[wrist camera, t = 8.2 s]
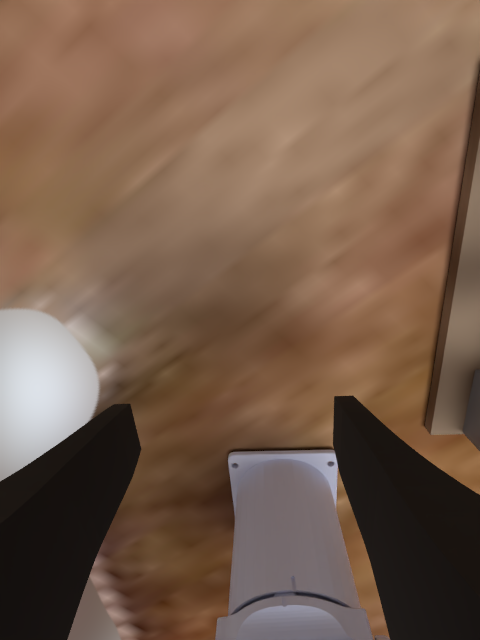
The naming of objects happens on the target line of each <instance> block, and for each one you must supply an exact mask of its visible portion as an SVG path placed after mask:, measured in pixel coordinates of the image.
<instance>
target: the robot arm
mask: <svg viewBox="0 0 480 640" xmlns="http://www.w3.org/2000/svg"><path fill="white" fill-rule="evenodd" d="M333 446H334V450H291V451H247V452H231V453H230V454H229V455H228V465H229V473H230V481H231V489H232V497H233V505H234V513H235V528H234V542H233V555H232V568H231V582H230V595H229V609H228V616H227V617H220V618H218V619H217V629H216V638H215V640H373V636H372V633H371V629H370V625H369V621H368V617H367V614H366V610H365V609H363V608H361V606H360V602H359V598H358V594H357V590H356V586H355V582H354V578H353V574H352V570H351V566H350V562H349V558H348V555H347V551H346V547H345V543H344V539H343V535H342V531H341V527H340V523H339V519H338V515H337V511H336V498H337V470H338V468H339V472H340V475H341V478H342V481H343V484H344V487H345V490H346V493H347V495H348V498H349V501H350V504H351V507H352V510H353V512H354V515H355V518H356V521H357V524H358V526H359V529H360V532H361V535H362V538H363V540H364V543H365V546H366V549H367V553H368V556H369V559H370V562H371V566H372V570H373V574H374V577H375V581H376V585H377V589H378V593H379V596H380V600H381V604H382V608H383V612H384V616H385V620H386V624H387V628H388V632H389V636H390V639H389V638H388V637H387V636H385V635H377V636H375V640H480V495H479V494H477V493H475V492H474V491H472V490H471V489H469V488H468V487H466V486H464V485H463V484H461V483H460V482H458V481H457V480H455V479H454V478H452V477H451V476H449V475H448V474H447V473H445V472H444V471H442V470H441V469H439V468H438V467H436V466H435V465H434V464H432V463H431V462H429V461H428V460H427V459H425V458H424V457H423V456H421V455H420V454H419V453H418V452H416V451H415V450H414V449H412V448H411V447H410V446H409V445H407V444H406V443H405V442H404V441H402V440H401V439H400V438H399V437H398V436H397V435H395V434H394V433H393V432H392V431H391V430H390V429H388V428H387V427H386V426H385V425H384V424H383V423H382V422H381V421H379V420H378V419H377V418H376V417H375V416H374V415H373V414H372V413H371V412H370V411H369V410H368V409H367V408H366V407H364V406H363V405H362V404H361V403H360V402H359V401H358V400H357V399H356V398H355V397H354V396H334V430H333ZM140 451H141V446H140V442H139V438H138V434H137V430H136V426H135V422H134V418H133V414H132V410H131V406H130V404H114V405H112V406H111V407H109V408H107V409H106V410H105V411H103V412H102V413H100V414H99V415H98V416H96V417H95V418H93V419H92V420H91V421H89V422H88V423H87V424H85V425H84V426H82V427H81V428H80V429H78V430H77V431H76V432H74V433H73V434H72V435H70V436H69V437H68V438H66V439H65V440H63V441H62V442H60V443H59V444H58V445H56V446H55V447H53V448H52V449H50V450H49V451H47V452H46V453H44V454H43V455H42V456H40V457H39V458H37V459H36V460H34V461H33V462H31V463H30V464H28V465H27V466H25V467H23V468H22V469H20V470H19V471H17V472H15V473H14V474H12V475H11V476H9V477H7V478H6V479H4V480H2V481H1V482H0V640H67V639H68V635H69V633H70V630H71V627H72V624H73V620H74V618H75V615H76V612H77V608H78V606H79V603H80V600H81V597H82V594H83V591H84V589H85V586H86V583H87V580H88V578H89V575H90V572H91V569H92V566H93V564H94V561H95V558H96V556H97V554H98V551H99V549H100V547H101V544H102V542H103V540H104V538H105V536H106V533H107V531H108V529H109V527H110V525H111V523H112V520H113V518H114V516H115V514H116V512H117V510H118V508H119V505H120V503H121V501H122V499H123V497H124V495H125V492H126V490H127V488H128V486H129V484H130V481H131V479H132V477H133V474H134V471H135V468H136V465H137V461H138V458H139V455H140ZM329 461H332V462H330V463H329ZM233 463H237V464H233Z"/></svg>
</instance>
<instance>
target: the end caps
mask: <svg viewBox="0 0 480 640" xmlns="http://www.w3.org/2000/svg"><path fill="white" fill-rule="evenodd" d="M462 432H463V433H464V434H465V435H466V436H467V437H468V439H469V440H470V441H471V442H472V443H473V444H474V445H475V446H476V448H477V449H478V450H479V451H480V370H475V373H474V378H473V383H472V388H471V393H470V397H469V402H468V407H467V412H466V417H465V421H464V426H463V431H462Z"/></svg>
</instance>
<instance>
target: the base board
mask: <svg viewBox="0 0 480 640" xmlns="http://www.w3.org/2000/svg"><path fill="white" fill-rule="evenodd" d="M475 370H480V73H479V80H478V86H477V93H476V99H475V106H474V112H473V118H472V125H471V131H470V138H469V144H468V151H467V157H466V164H465V170H464V176H463V183H462V189H461V196H460V202H459V209H458V215H457V222H456V228H455V234H454V241H453V247H452V254H451V260H450V267H449V273H448V280H447V286H446V292H445V299H444V305H443V312H442V318H441V325H440V331H439V338H438V344H437V350H436V357H435V363H434V370H433V376H432V383H431V389H430V396H429V402H428V408H427V415H426V421H425V428H426V429H427V431H428V432H429V433H430V435H442V434H464V433H463V432H462V431H463V426H464V421H465V417H466V412H467V407H468V402H469V397H470V393H471V388H472V383H473V378H474V373H475Z"/></svg>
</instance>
